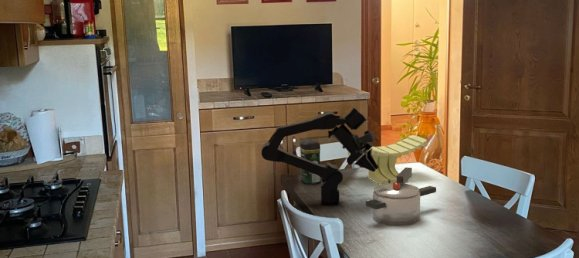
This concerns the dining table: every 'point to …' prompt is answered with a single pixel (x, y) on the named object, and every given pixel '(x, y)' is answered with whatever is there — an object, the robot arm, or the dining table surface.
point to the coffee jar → (310, 159)
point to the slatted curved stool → (392, 158)
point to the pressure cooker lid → (398, 187)
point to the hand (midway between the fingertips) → (376, 169)
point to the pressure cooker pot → (398, 208)
